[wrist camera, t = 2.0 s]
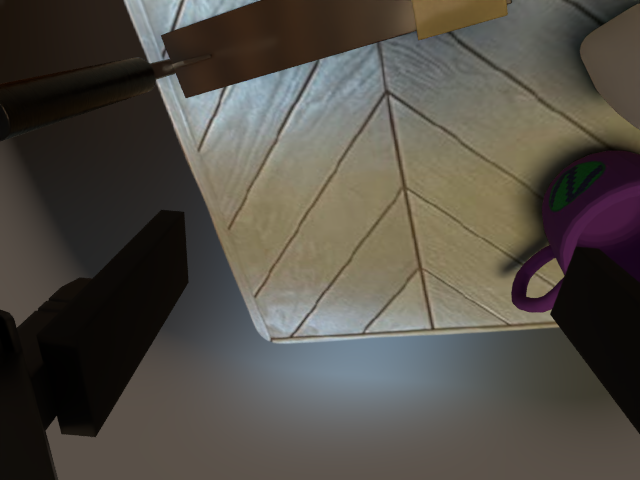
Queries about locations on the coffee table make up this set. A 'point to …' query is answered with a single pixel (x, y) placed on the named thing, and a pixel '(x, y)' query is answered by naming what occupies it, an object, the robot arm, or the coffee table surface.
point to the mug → (587, 219)
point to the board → (280, 37)
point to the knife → (77, 92)
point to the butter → (454, 14)
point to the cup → (616, 63)
